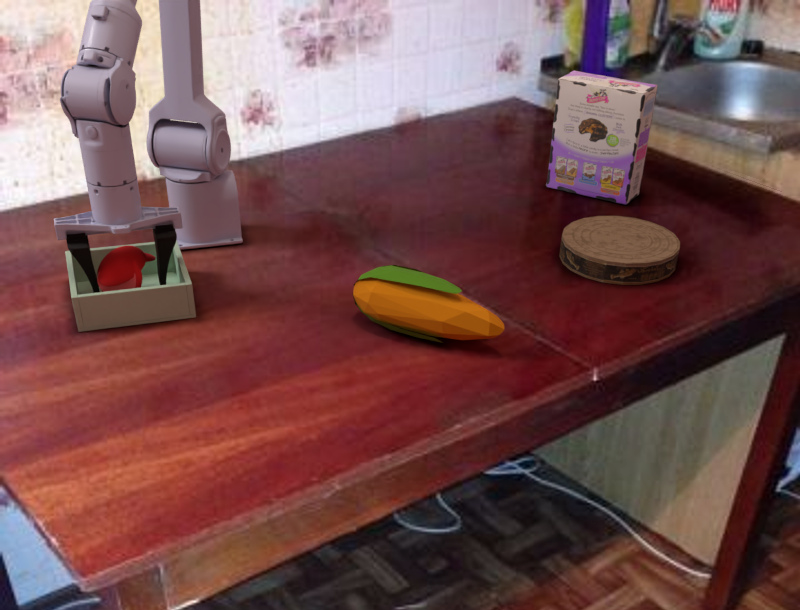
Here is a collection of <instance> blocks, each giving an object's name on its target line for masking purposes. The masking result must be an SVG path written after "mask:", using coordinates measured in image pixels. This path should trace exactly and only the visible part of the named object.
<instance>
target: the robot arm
mask: <svg viewBox="0 0 800 610" xmlns="http://www.w3.org/2000/svg"><path fill="white" fill-rule="evenodd" d="M137 3H138V0H91V1H90V2H89V5H88V10H87V14H86V18H85V23H84V27H83V31H82V36H81V41H80V44H79V48H78V54H77V58H76V62H75V63H76V64H74V65H73V64H72V66H71V68H68V69H67V70H65V72H64V73H63V74H62V77H61V83H60V97H59V104H60V106H61V109H62V111H63V113H64V116H65V117H66V118H67V119H68V121H69V123H70V127H71V132H72V134H73V136H74V137H75V138H77V139H78V142H79V143H78V144H79V148H80V149H79V150H80V153H81V159H82V164H83V171H84V176H85V181H86V187H87V192H88V198H89V203H90V209H91V211H86V212H81V213H77V214H72V215H67V216H63V217H55V218H53V224H54V229H55V235H56V239H57V241H65V240H66V246H67V249H68V251H70V252H71V254H72V255H73V256H74V258H75V259H76V260H77V262H78V263H79V264H80V266H81V267H82V269H83V270H84V272H85V274H86V276H87V278H88V280H89V282H90V284H91V286H92V289H93V292H94V293H98V292H100V291H99V286H98V283H97V276H96V273H95V269H94V265H93V262H92V257H91V252H90V248H91V246H90V241H89V236H94V235H105V234H113V235H123V234H129V233H131V232H133V231H134V232H136V231H144V230H145V231H146V230H152V236H153V242H155V248H156V255H157V271H158V278H159V283H160V285H166V278H167V270H168V264H169V260H170V257H171V254H172V251H173V248H174V246H175V244H176V240H177V242H178V245H179V248H180V251H182V250H190V249H199V248H208V247H209V248H210V247H219V246H228V245H237V244H242V243H243V242H244V241H243V240H244V239H243V236H242V235H243V234H242V224H241V223H242V222H241V213H240V212H241V211H240V201H239V192H238V185H237V179H236V175H235V173H234V171H233V170H232V169H227V168H228V167H229V164H230V161H231V155H232V143H231V138H230V135H229V131H228V124H227V123H228V122H227V118H226V116H227V115H226V113H225V112H224V111H223V110H222V109H221V108H220V107H219V106H217V105H216V104H215V103H214V102H213V101H212V100H210V99H209V98H208V96H206V95H205V82H204V81H205V80H204V79H205V78H204V60H203V59H204V58H203V57H204V56H203V37H202V12H201V0H158V13H159V27H160V42H161V45H160V46H161V59H162V73H163V74H162V77H163V91H164V95H163V97H162V98H161V99H160V100H159V101H158V102H156V103H155V104H153V106H152V107H151V108H150V110H149V111H148V127H147V128H148V129H147V133H146V139H145V141H146V152H147V155H148V158H149V160H150V162H151V163H152V165H153V166H154V168H157V169H158V170H159V176H162V177H164V178H165V185H166V186H165V187H166V193H167V200H168V207H166V206H164V207H161V206H142V201H141V195H140V187H139V181H138V174H137V167H136V161H135V154H134V148H133V139H132V133H131V127H130V122H131V121H132V119H133V116H134V114H135V110H136V108H137V89H136V82H137V81H136V80H137V77H136V75H137V74H136V72H135V71H134V70H133V68H134V64H135V59H136V54H137V49H138V46H139V41H140V37H141V31H142V27H143V19H142V18H141V15H140V14H139V12H138V10H137V8H136V7H137Z"/></svg>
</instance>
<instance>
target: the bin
mask: <svg viewBox="0 0 800 610" xmlns="http://www.w3.org/2000/svg"><path fill="white" fill-rule="evenodd" d="M122 246H135V247H138V248H140V249H141V250H142V251H143V252H144V253H148V254H151V255H153V256H155V257H156V260H154V261H150V262H146V263H145V265H144V267H143V269H142V270H141V272H142V285H141V288H132V289H124V290H115V291H106V292H102V290H101V289H100V287H99V291H100V292H98V293H94V292H93V289H92V286H91V284H90V282H89V280H88V278H87V276H86V274H85V272H84V270H83V269H82V267H81V266H80V264H79V263H78V262H77V260H76V259H75V258H74V256H73V255H72V254H71V252H70V251H69V250H65V251H64V254H65V262H66V268H67V275H68V281H69V282H68V283H69V289H70V297H71V302H72V308H73V312H74V317H75V321H76V322H75V323H76V326H77V331H78V333H82V332H90V331H99V330H105V329H114V328H121V327H122V328H123V327H129V326H130V327H131V326H138V325H146V324H147V325H148V324H154V323H161V322H170V321H179V320H187V319H193V318H194V319H195V318H197V311H196V303H195V295H194V289H193V282H192V279H191V277H190V274H189V270H188V268H187V266H186V263H185V262H186V261H185V260H184V257H183V254H182V250H180V248H179V245H178V242H177V240H176V244H175V246H174V248H173V251H172V254H171V257H170V260H169V264H168V270H167V278H166V285H160V283H159V278H158V271H157V255H156V248H155V242H154V241H148V242H140V243H130V244H120V245H112V246H111V245H110V246H102V247H101V246H100V247H90V252H91V257H92V262H93V265H94V269H95V273H96V276H97V271H98V267H99V265H100V263H101V261H102V260H103V258H104V257H105V256H106V255H107V254H108V253H109V252H111V251H112V250H114V249H116V248H118V247H122ZM98 286H99V285H98Z"/></svg>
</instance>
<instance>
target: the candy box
mask: <svg viewBox="0 0 800 610" xmlns="http://www.w3.org/2000/svg"><path fill="white" fill-rule="evenodd" d="M556 85H557V86H556V87H557V88H556V96H555V97H556V98H555V107H554V115H553V122H552V132H551V142H550V150H549V151H550V152H549V162H548V168H547V169H548V170H547V177H546V184H545V186H546V188H550V189H554V190H558V191H563V192H567V193H572V194H577V195H580V196H585V197H589V198H595V199H598V200H602V201H607V202H612V203H616V204H620V205H621V204H622V205H625V206H626V205H628V204H629V203H630V202H632V200H634V199H635V198H637V197H639V195H640V191H641V184H642V180H643V173H644V168H645V162H646V156H647V151H648V145H649V139H650V133H651V127H652V123H653V122H652V121H653V116H654V109H655V104H656V98H657V93H658V84H654V83H648V82H643V81H642V82H641V81H635V80H630V79H624V78H618V77H613V76H608V75H607V76H606V75H602V74H596V73H589V72H585V71H578V70H572V71H569V72H568V73H566V74H564V75H563V76H561V77H559V78H558V79H557V84H556Z"/></svg>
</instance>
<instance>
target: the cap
mask: <svg viewBox="0 0 800 610" xmlns="http://www.w3.org/2000/svg"><path fill="white" fill-rule="evenodd" d="M154 260H156V257H155V256H153V255H151V254H148V253H144V252H143V251H142V250H141V249H140V248H138V247H135V246H122V247H118V248H116V249H114V250H112V251H111V252H109V253H108V254H107V255H106V256H105V257H104V258H103V260H102V261H101V263H100V265H99V267H98V271H97V283H98V285H99V287H100V289H101V290H102V292H106V291H115V290H124V289H132V288H141V285H142V272H141V270H142V269H143V267H144V265H145V263H146V262H150V261H154Z"/></svg>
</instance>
